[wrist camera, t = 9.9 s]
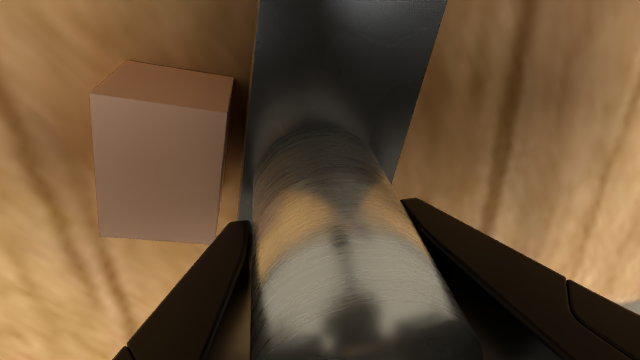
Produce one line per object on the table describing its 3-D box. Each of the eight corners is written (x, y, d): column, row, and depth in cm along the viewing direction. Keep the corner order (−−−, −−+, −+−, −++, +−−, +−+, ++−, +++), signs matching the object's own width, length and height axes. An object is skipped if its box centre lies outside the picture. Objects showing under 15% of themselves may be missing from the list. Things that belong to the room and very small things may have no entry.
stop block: (126, 60, 11) (88, 93, 9) (233, 77, 12) (226, 112, 9) (130, 180, 13) (99, 236, 11) (222, 189, 14) (214, 244, 11)
